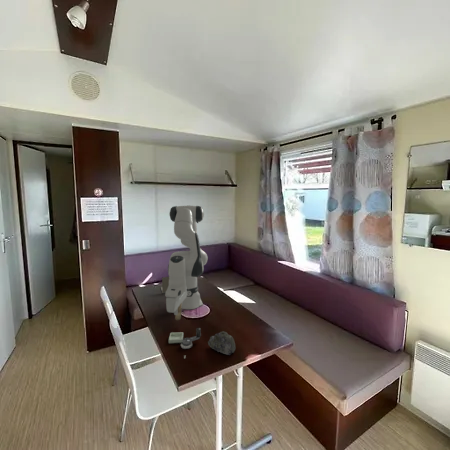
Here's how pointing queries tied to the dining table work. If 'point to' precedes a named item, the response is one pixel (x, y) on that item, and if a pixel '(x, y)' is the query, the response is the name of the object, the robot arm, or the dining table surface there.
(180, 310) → the stop pin
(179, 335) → the dish
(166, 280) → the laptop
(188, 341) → the crank
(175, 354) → the dining table surface
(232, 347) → the mineral rock
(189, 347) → the crank base
